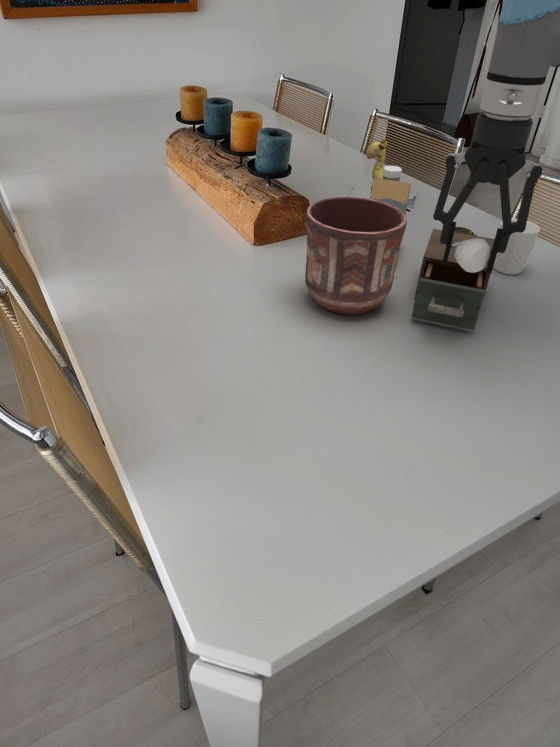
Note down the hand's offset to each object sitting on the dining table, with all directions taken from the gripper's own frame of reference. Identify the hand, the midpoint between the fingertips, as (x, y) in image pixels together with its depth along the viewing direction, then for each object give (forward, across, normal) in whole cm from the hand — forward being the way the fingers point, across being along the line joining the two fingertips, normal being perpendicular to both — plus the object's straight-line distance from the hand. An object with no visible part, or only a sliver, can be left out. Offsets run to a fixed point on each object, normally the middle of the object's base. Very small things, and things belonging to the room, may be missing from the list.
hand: (466, 265), depth 90 cm
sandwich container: (+15, -18, +29) cm, 37 cm away
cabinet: (+15, -1, +18) cm, 24 cm away
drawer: (+14, -1, +8) cm, 16 cm away
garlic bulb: (0, 0, 0) cm, 1 cm away
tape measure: (+15, -1, +42) cm, 44 cm away
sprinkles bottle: (+15, -21, +51) cm, 57 cm away
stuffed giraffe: (+15, -24, +68) cm, 74 cm away
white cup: (+15, +10, +34) cm, 39 cm away
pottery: (+15, -20, +6) cm, 26 cm away
